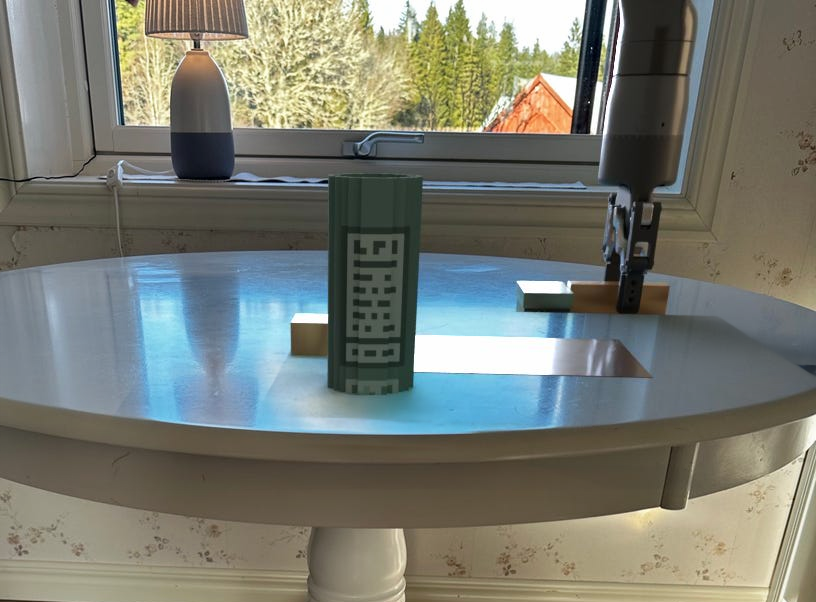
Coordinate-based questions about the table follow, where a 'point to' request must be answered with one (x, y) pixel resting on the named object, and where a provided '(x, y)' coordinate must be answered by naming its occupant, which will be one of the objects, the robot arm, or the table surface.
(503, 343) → the board
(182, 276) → the table surface
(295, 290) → the table surface
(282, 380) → the table surface
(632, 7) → the robot arm
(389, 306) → the can
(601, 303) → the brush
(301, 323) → the cork block
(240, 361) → the table surface
